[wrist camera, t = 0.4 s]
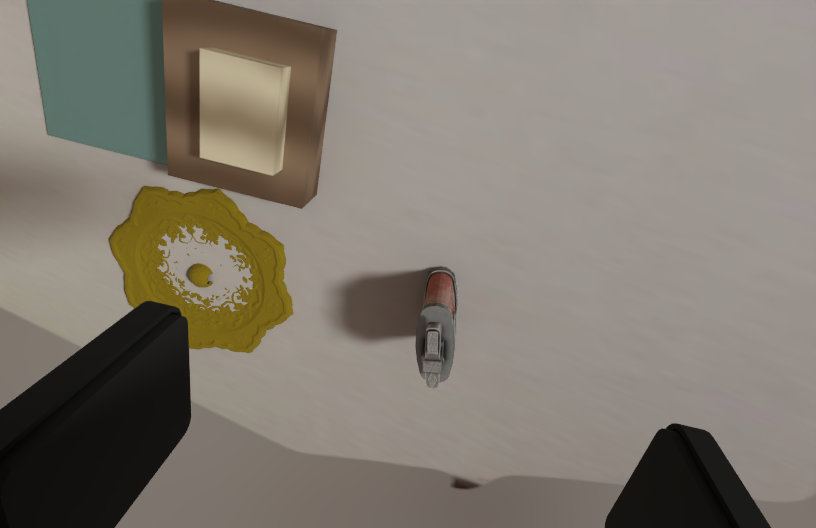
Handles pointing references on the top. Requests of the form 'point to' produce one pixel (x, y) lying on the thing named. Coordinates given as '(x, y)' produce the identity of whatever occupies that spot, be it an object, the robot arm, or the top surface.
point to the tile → (243, 110)
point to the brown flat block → (260, 38)
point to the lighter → (437, 327)
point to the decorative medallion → (219, 217)
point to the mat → (103, 73)
